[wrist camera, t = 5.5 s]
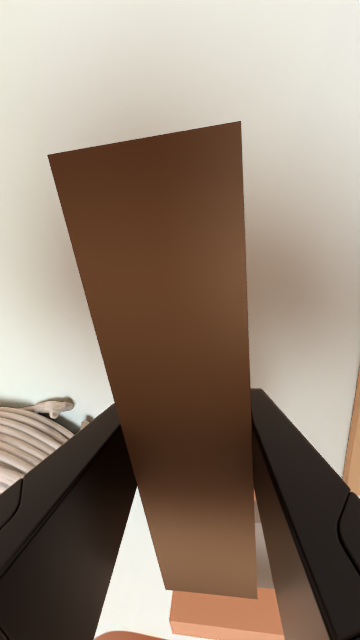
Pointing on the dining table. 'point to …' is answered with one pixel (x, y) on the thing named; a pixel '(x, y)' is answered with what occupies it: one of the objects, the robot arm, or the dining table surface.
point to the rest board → (354, 448)
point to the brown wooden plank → (175, 340)
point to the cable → (29, 438)
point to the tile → (226, 616)
